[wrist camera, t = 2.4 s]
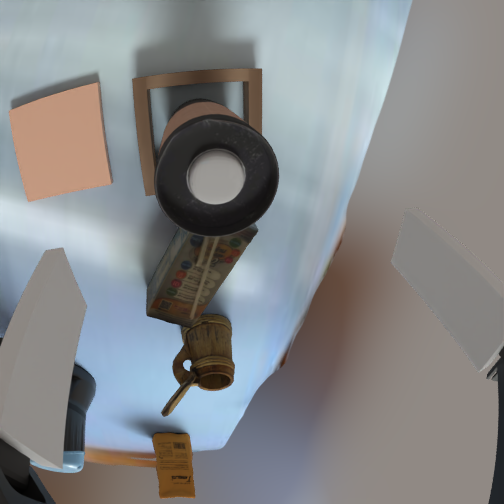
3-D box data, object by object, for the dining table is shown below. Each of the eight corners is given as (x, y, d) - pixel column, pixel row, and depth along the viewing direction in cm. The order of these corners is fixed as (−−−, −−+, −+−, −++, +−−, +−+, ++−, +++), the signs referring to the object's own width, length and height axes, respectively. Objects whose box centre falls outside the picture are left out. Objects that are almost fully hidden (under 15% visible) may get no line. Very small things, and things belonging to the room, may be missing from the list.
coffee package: (187, 442, 82) (197, 500, 64) (150, 441, 78) (157, 500, 60) (192, 432, 78) (203, 495, 60) (153, 430, 73) (160, 496, 55)
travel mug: (217, 163, 36) (253, 250, 20) (158, 147, 33) (138, 224, 17) (239, 107, 33) (302, 144, 16) (179, 88, 30) (175, 100, 13)
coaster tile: (31, 199, 31) (28, 202, 31) (12, 109, 24) (8, 110, 23) (113, 181, 34) (111, 184, 33) (99, 82, 26) (97, 82, 26)
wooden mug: (163, 304, 47) (167, 401, 32) (238, 317, 52) (263, 405, 37) (153, 338, 50) (156, 427, 36) (221, 348, 56) (239, 430, 41)
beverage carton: (252, 209, 41) (264, 233, 36) (189, 304, 48) (192, 334, 43) (201, 184, 37) (206, 206, 32) (144, 289, 44) (142, 319, 39)
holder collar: (148, 187, 35) (145, 196, 33) (136, 78, 28) (132, 78, 25) (255, 175, 38) (261, 183, 36) (255, 69, 30) (262, 68, 28)
